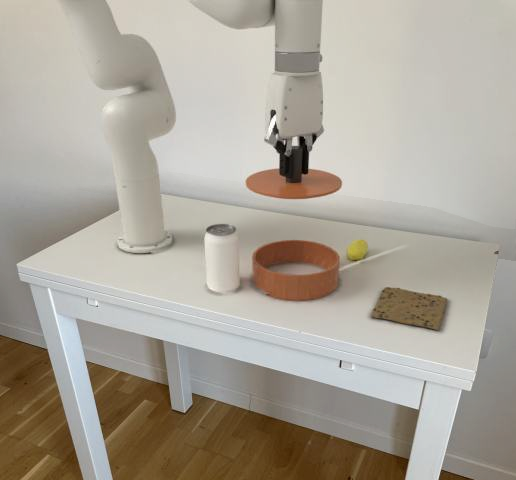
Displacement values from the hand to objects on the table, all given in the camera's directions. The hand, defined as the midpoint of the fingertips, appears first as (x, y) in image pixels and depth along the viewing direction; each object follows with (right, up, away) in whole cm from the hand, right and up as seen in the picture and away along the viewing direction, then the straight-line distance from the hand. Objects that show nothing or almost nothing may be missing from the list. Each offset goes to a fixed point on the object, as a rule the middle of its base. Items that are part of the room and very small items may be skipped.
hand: (293, 173), depth 100 cm
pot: (+1, -19, +9) cm, 21 cm away
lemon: (+15, -13, +19) cm, 27 cm away
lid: (0, -1, +1) cm, 2 cm away
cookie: (+21, -25, -1) cm, 33 cm away
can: (-14, -20, +7) cm, 25 cm away
